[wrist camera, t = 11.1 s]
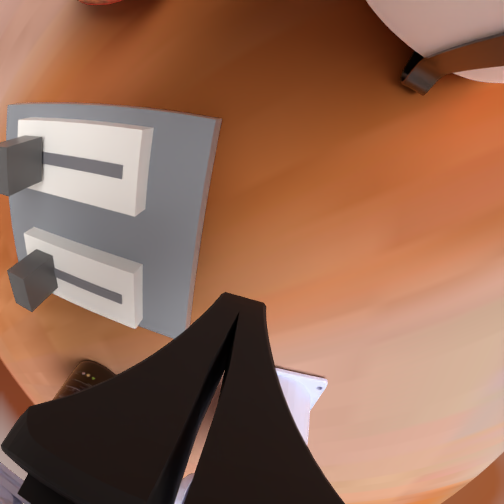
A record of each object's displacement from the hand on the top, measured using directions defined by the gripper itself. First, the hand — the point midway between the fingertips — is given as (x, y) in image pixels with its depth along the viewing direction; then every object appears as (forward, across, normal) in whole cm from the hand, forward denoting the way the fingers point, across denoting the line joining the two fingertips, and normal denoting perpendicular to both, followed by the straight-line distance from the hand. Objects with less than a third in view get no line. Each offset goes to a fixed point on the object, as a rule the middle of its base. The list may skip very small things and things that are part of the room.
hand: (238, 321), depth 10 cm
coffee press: (+10, -7, -18) cm, 22 cm away
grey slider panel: (+9, +13, +3) cm, 16 cm away
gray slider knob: (+7, +16, -2) cm, 17 cm away
